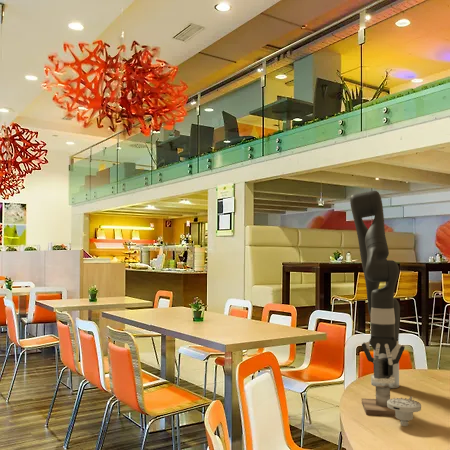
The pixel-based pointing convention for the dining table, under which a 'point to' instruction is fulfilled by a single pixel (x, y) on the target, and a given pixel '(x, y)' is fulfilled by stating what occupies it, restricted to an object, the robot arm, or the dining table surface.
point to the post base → (375, 408)
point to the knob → (382, 374)
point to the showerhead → (404, 409)
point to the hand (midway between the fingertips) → (383, 375)
